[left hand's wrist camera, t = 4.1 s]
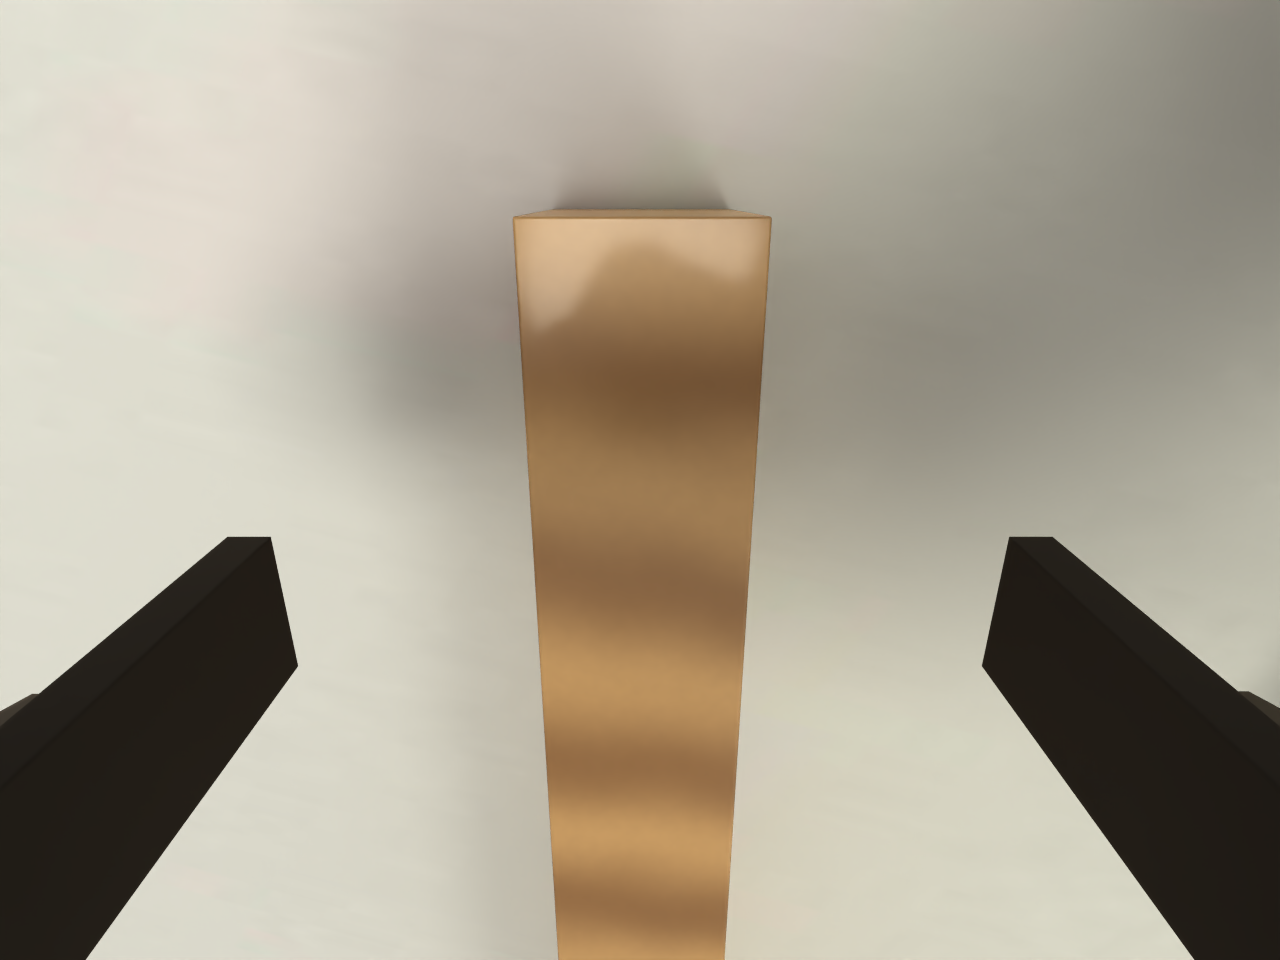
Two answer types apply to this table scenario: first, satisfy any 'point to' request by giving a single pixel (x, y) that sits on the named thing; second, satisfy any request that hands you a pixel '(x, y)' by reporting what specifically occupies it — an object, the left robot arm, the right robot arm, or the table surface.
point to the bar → (641, 557)
